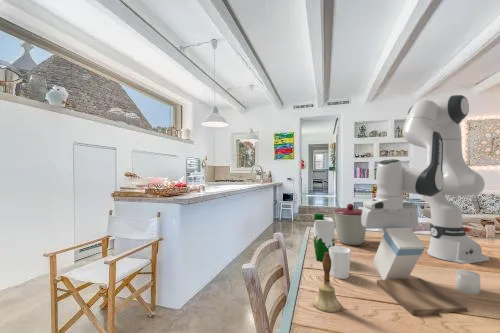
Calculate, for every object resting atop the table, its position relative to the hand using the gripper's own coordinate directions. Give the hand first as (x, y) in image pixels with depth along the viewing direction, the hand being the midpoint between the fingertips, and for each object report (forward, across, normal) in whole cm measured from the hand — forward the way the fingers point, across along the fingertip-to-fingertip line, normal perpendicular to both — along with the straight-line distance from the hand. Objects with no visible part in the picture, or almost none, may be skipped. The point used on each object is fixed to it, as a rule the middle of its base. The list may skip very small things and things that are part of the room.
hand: (389, 239), depth 91 cm
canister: (+14, -4, -41) cm, 44 cm away
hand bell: (+15, +30, +16) cm, 37 cm away
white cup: (+14, +18, -3) cm, 23 cm away
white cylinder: (+14, -19, +12) cm, 27 cm away
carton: (+12, 0, -1) cm, 12 cm away
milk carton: (+14, +18, -20) cm, 31 cm away
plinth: (+14, 0, +14) cm, 20 cm away
